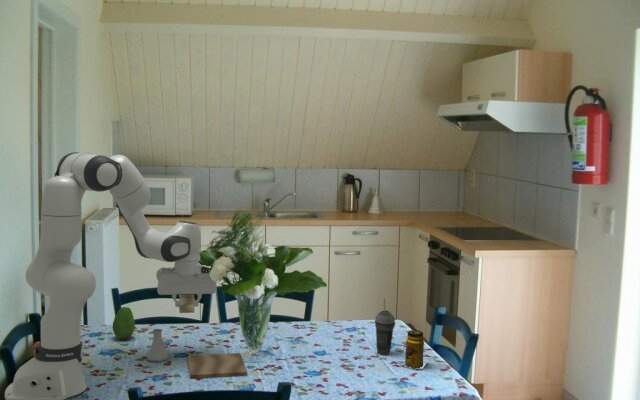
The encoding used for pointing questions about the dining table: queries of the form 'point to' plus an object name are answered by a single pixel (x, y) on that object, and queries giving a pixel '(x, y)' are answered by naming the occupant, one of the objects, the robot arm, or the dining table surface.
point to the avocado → (124, 323)
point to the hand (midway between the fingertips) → (186, 306)
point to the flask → (157, 348)
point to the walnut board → (216, 365)
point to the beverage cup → (384, 331)
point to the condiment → (414, 349)
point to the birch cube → (187, 303)
